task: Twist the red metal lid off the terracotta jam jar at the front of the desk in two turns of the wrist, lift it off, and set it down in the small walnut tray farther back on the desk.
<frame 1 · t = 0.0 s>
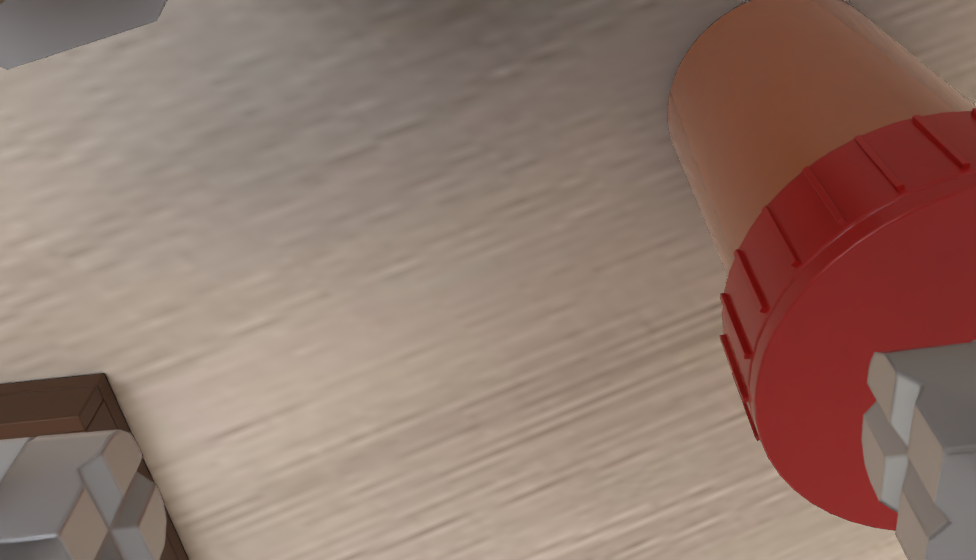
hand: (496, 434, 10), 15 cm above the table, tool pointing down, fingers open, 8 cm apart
jar lid: (968, 363, 14), point 11 cm above the table, screwed on, not yet turned
tray: (22, 510, 32), on the table
jar: (777, 102, 24), on the table
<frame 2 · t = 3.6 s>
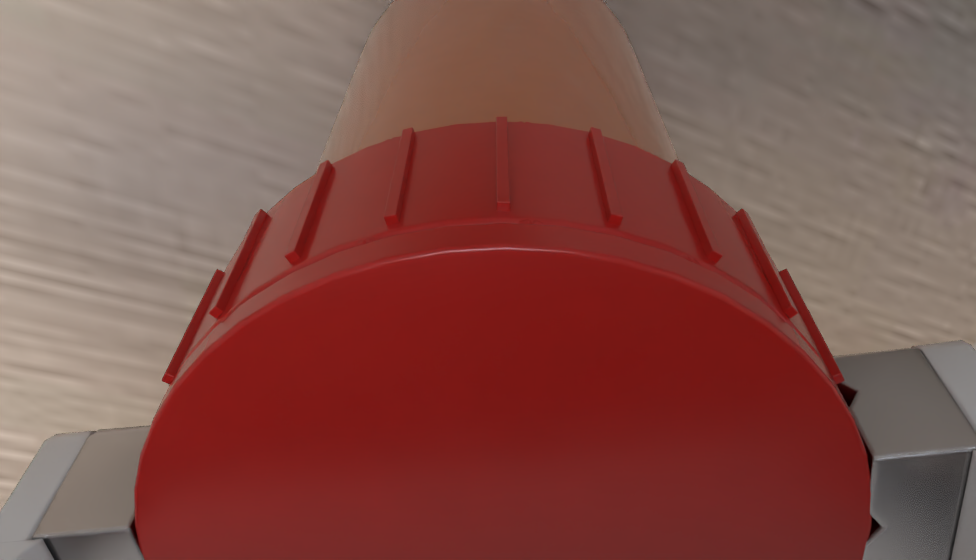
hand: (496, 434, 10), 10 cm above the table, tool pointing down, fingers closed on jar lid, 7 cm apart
jar lid: (501, 528, 9), point 11 cm above the table, screwed on, not yet turned, touching gripper
jar: (497, 104, 18), on the table
when the fingers open (7 cm above the table, at t = 7.2 s): jar lid stays where it is, point 12 cm above the table.
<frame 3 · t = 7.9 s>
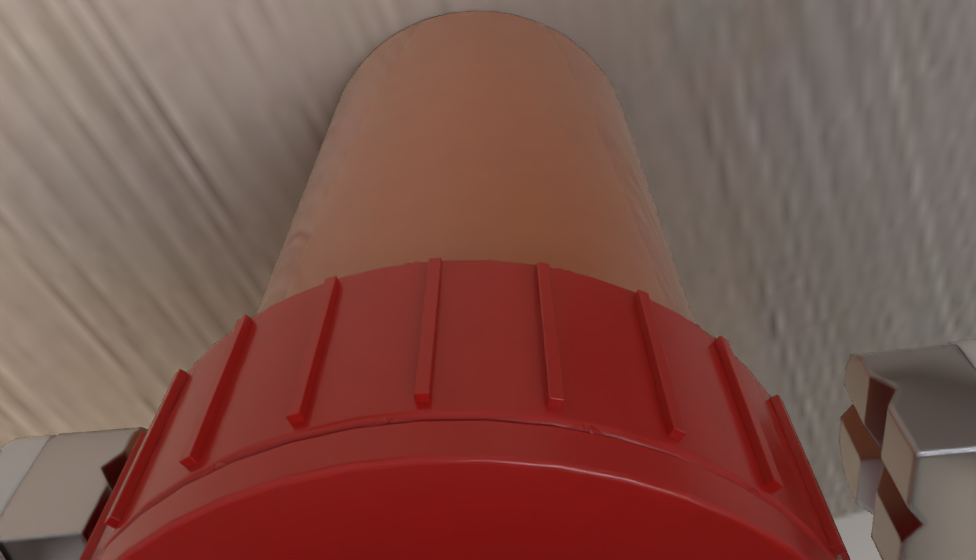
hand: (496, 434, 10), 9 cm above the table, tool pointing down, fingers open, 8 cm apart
jar: (479, 159, 18), on the table
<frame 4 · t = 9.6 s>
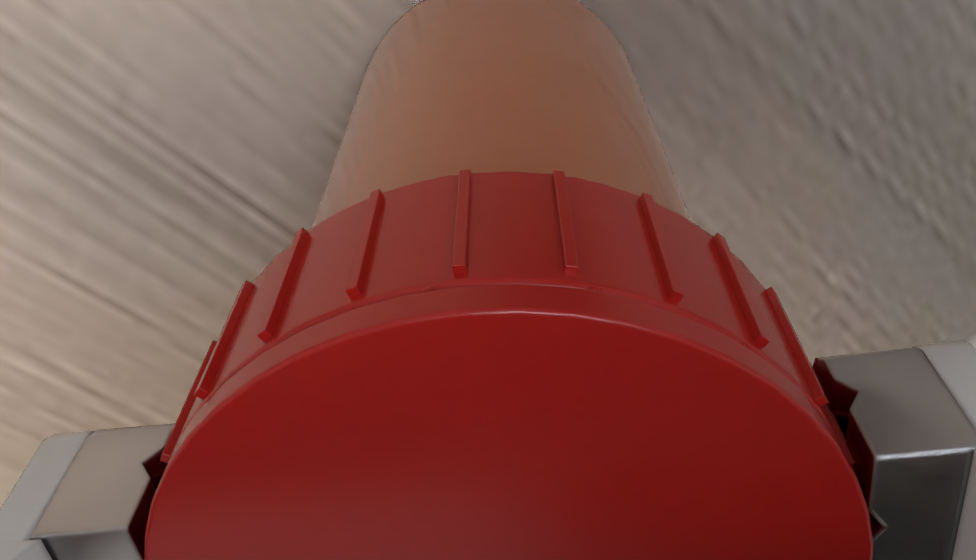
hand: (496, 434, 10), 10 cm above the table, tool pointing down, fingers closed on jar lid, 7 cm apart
jar: (499, 120, 19), on the table
when the fingers open (1 cm above the table, at t = 21.1 s): jar lid stays where it is, resting on tray.
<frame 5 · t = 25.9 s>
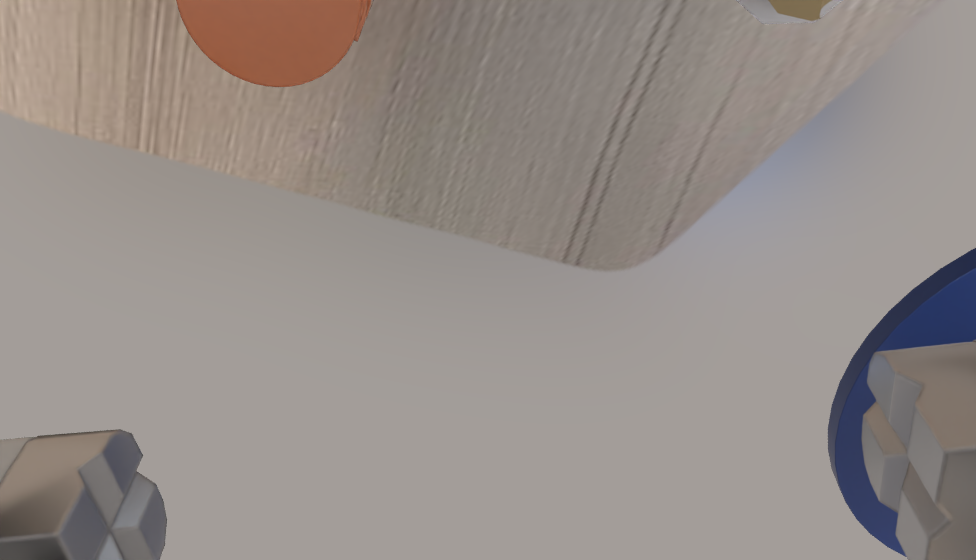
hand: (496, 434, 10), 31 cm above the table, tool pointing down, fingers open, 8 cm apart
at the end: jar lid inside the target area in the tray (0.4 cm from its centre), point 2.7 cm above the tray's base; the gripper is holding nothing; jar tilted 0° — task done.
